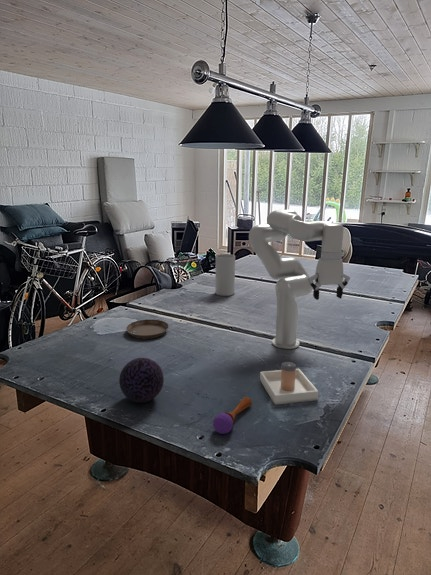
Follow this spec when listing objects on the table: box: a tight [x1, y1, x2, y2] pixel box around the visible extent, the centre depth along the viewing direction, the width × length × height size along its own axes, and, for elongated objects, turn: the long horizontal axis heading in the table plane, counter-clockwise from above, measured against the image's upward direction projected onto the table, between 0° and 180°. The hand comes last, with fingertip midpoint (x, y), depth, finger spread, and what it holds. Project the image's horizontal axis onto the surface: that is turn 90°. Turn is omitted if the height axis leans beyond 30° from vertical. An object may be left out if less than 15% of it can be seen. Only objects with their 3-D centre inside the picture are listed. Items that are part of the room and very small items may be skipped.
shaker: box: [280, 361, 297, 391], centre depth 149 cm, size 5×5×9 cm
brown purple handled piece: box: [212, 396, 252, 435], centre depth 131 cm, size 6×6×20 cm
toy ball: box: [118, 357, 165, 403], centre depth 142 cm, size 15×15×15 cm
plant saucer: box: [125, 318, 170, 340], centre depth 204 cm, size 21×21×3 cm
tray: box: [259, 367, 319, 406], centre depth 150 cm, size 18×16×4 cm
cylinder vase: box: [214, 253, 236, 297], centre depth 267 cm, size 12×12×25 cm
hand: (327, 298), depth 164 cm, fingers open, 9 cm apart
